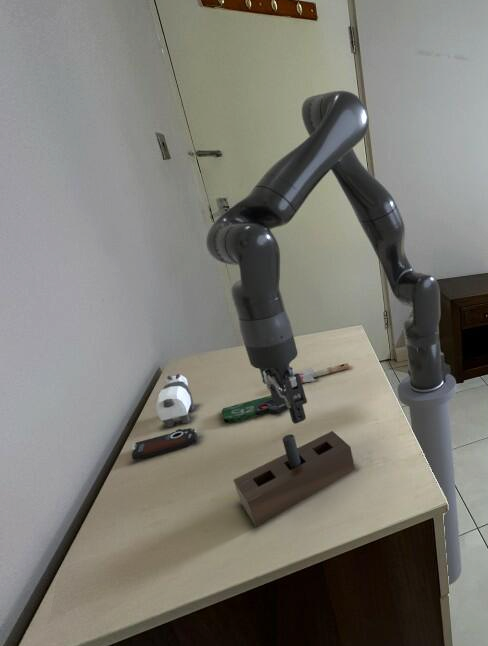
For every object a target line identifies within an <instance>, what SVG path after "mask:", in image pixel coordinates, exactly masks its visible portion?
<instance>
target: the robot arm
mask: <svg viewBox="0 0 488 646" xmlns="http://www.w3.org/2000/svg"><path fill="white" fill-rule="evenodd" d="M301 118H302V121H303V125H304V127H305V130H306V132H307V134H308V137H307V138H306V139H305V140H304V141H302V143H301V144H299V145H298V146H297V147H295V148H293V150H291V151H289V153H287V154H286V155H284V156H283V157H281V158H280V159H279V160H278V161H277V162H275V163H274V164H273V165H272V166H271V167H270V168H268V170H267V171H266V172H265V173H264V175H263V176H262V177H261V179H259V181H258V182H257V183H256V184H255V186H254V187H253V188H252V189H251V191H250V193H249V194H248V195H247V196H245V197H244V198H243V199H241V200H240V201H238V202H236V204H234V205H232V207H230V208H229V209H228V210H227V211H226V212H224V213H223V214H221V216H219V217H218V218H217V219H216V220H215V221H214V222H213V224H211V227H210V228H209V230H208V232H207V234H206V240H205V244H206V249H207V252H208V253H209V255H211V257H212V258H213V259H215V260H217V261H218V262H220V263H223V264H227V265H233V266H238V267H239V275H240V277H239V278H240V280H237V281H235V282H234V283H233V284H232V286H231V288H230V293H231V294H230V295H231V298H232V302H233V306H234V309H235V312H236V315H237V319H238V325H239V331H240V334H241V337H242V341H243V344H244V347H245V351H246V353H247V357H248V360H249V363H250V365H251V366H252V368H255V369H259V373H260V376H261V379H262V383H263V384H264V385H266V389H268V390H269V392H270V395H271V396H272V399H273V402H274V406H276V407H278V406H283V405H285V404H287V407H288V409H287V410H288V412H289V415H290V419H291V422H292V423H293V424H295V425H297V424H299V423H301V422H303V421H305V420H306V412H305V409H304V405H305V404H307V403H308V399H307V397H306V393H305V390H304V385H303V383H302V382H301V379H300V375H299V374H298V373H299V372H296V371H295V370H294V367H292V366H290V364H291V363H292V361H294V360H295V359H296V358H297V356H298V349H297V345H296V340H295V335H294V332H293V329H292V325H291V320H290V318H289V316H288V314H287V311H286V308H285V304H284V300H283V297H282V296H283V295H282V293H281V289H280V278H281V250H280V245H279V243H278V240H277V238H276V236H275V235H274V233H273V232H272V231H271V230H273V229H276V228H280V227H284V226H286V225H287V224H289V223H290V222H291V221H292V219H293V218H294V217H295V216H296V214H297V213H298V211H299V210H300V208H301V207H302V206H303V204H304V203H305V202H306V200H307V199H308V197H309V196H310V194H311V193H312V192H313V191H314V190H315V188H316V187H317V186H318V184H319V183H320V182H321V181H322V180H323V179H324V178H325V176H326V175H327V174H328V173H329V172H330V171H331V172H332V174H333V175H334V176H335V178H336V180H337V182H338V184H339V186H340V188H341V190H342V192H343V193H344V195H345V197H346V199H347V200H348V202H349V205H350V206H351V208H352V210H353V212H354V215H355V217H356V219H357V221H358V223H359V224H360V226H361V229H362V230H363V232H364V234H365V236H366V237H367V239H368V241H369V243H370V246H371V247H372V249H373V251H374V253H375V255H376V257H377V259H378V261H379V262H380V265H381V267H382V269H383V272H384V274H385V277H386V279H387V282H388V284H389V287H390V290H391V293H392V294H393V296H394V298H395V299H396V301H397V302H398V303H400V304H402V305H403V306H407V307H409V308H412V316H410V317H409V318H407V319H406V320H404V322H403V333H404V343H405V351H406V359H407V368H408V369H407V370H408V371H407V373H408V376H409V377H410V388H411V389H412V390H413V391H414V392H417V393H430V392H434V391H436V390H438V389H440V388H441V387H442V386H443V383H445V382H446V377H445V376H446V375H447V374H451V373H452V372H451V365H449V364H448V363H446V362H445V354H444V352H443V351H441V341H440V327H439V325H440V320H441V289H440V285H439V282H438V281H437V278H436V277H434V276H433V275H430V274H427V273H422V272H418V271H415V270H414V268H413V267H412V265H411V262H410V261H409V259H408V257H407V254H406V252H405V238H406V226H405V221H404V219H403V217H402V216H403V215H402V214H401V212H400V210H399V207H398V205H397V203H396V201H395V199H394V196H393V195H392V194H391V193H390V192H389V190H388V189H387V187H386V186H384V185H383V184H382V183H381V182H380V181H379V180H378V179H377V178H376V177H375V176H374V175H373V174H371V172H370V171H369V170H368V169H367V168H366V167H365V165H363V164H362V162H361V161H360V158H358V156H357V154H356V152H355V150H354V148H355V147H356V146H357V145H358V144H359V143H360V142H361V141H363V139H364V138H365V137H366V135H367V134H368V131H369V127H370V117H369V113H368V110H367V107H366V105H365V104H364V102H363V101H362V100H361V97H359V96H357V95H356V94H355V93H354V92H351V91H346V90H334V91H329V92H325V93H319V94H315V95H312V96H309V97H307V98H306V99H305V100H304V101H303V103H302V105H301ZM293 397H294V399H293ZM295 397H296V398H295Z"/></svg>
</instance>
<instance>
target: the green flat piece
mask: <svg viewBox="0 0 488 646" xmlns="http://www.w3.org/2000/svg"><path fill="white" fill-rule="evenodd" d="M293 399H295V396H294V397H293ZM287 410H289V409H288V407H287V404H286V403H285V404H283V405H280V406H278V407H277V406H275V405H274V402H273V399H272V396H271V394H269V395H267V396H263V397H259V398H257V399H252V400H249V401H245V402H242V403H237V404H234V405H231V406H225V407H222V409H221V415H222V420H223V423H224V424H232V423H234V424H235V423H238V422H239V423H240V422H244V421H246V420H249V419H252V418H253V419H254V418H256V417H257V416H261V415H265V414H269V413H270V414H271V415H274V416H275V415H279V414H280V413H282V412H284V411H287Z"/></svg>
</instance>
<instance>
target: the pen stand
mask: <svg viewBox="0 0 488 646" xmlns="http://www.w3.org/2000/svg"><path fill="white" fill-rule="evenodd" d="M297 449H298V453H299V457H300V461H301V465H299V466H297V467H296V468H294V469H292V470H291V469H290V466H289V462H288V459H287V455H286V453H285V454H282V455H280V456H278V457H276V458H274V459H272V460H271V461H268V462H267V463H264V464H262V465H260V466H258V467H256V468H254V469H252V470H250V471H248V472H246V473H243V474H242V475H240V476H237V477H235V478H234V479H233V480H232V481H233V484H234V486H235V490H236V492H237V495H238V498H239V501H240V504H241V505H242V507H243V509H244V510H245V511H246V514H247V515H248V517H249V518H250V520H251V521H252V523H253V525H254V527H256V528H258V527H259V526H261V525H263V524H264V523H266V522H267V521H269V520H271V519H273V518H274V517H276V516H278V515H280V514H281V513H284V512H285V511H287V510H288V509H290V508H292V507H293V506H295V505H296V504H299V503H300V502H302V501H303V500H306V499H307V498H309V497H310V496H312V495H314V494H315V493H317V492H319V491H321V490H322V489H324V488H326V487H327V486H329V485H331V484H332V483H334V482H336V481H338V480H339V479H341V478H343V477H344V476H346V475H348V474H350V473H352V472H353V471H355V470H356V467H355V463H354V457H353V452H352V447H351V446H350V445H349V444H348V443H347V442H346V441H345V440H344V439H342V438H341V437H340V436H339V435H338V434H337V433H336V432H334V431H333V430H331V431H329V432H326V433H325V434H322V435H321V436H319V437H317V438H315V439H313V440H311V441H309V442H307V443H305V444H303V445H301V446H298V447H297Z"/></svg>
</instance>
